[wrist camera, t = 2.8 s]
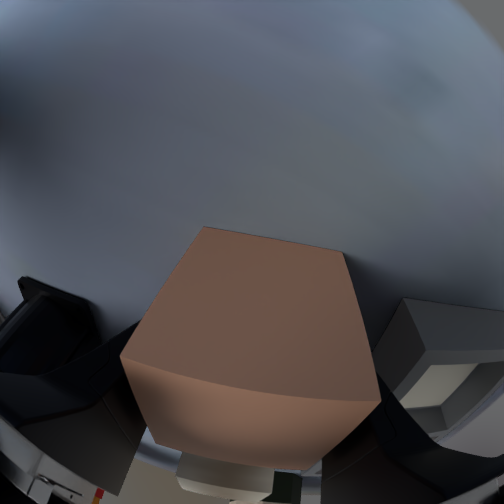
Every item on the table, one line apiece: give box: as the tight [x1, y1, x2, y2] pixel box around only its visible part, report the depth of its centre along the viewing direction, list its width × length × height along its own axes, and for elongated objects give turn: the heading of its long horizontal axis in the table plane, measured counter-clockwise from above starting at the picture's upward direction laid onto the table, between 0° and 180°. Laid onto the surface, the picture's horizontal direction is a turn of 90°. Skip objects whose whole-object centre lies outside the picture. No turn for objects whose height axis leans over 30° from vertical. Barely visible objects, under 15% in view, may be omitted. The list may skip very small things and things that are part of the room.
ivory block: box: [175, 452, 275, 503], centre depth 13 cm, size 5×5×6 cm
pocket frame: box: [301, 298, 504, 476], centre depth 12 cm, size 8×16×3 cm, turn 172°
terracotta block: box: [120, 227, 381, 470], centre depth 8 cm, size 5×5×6 cm
